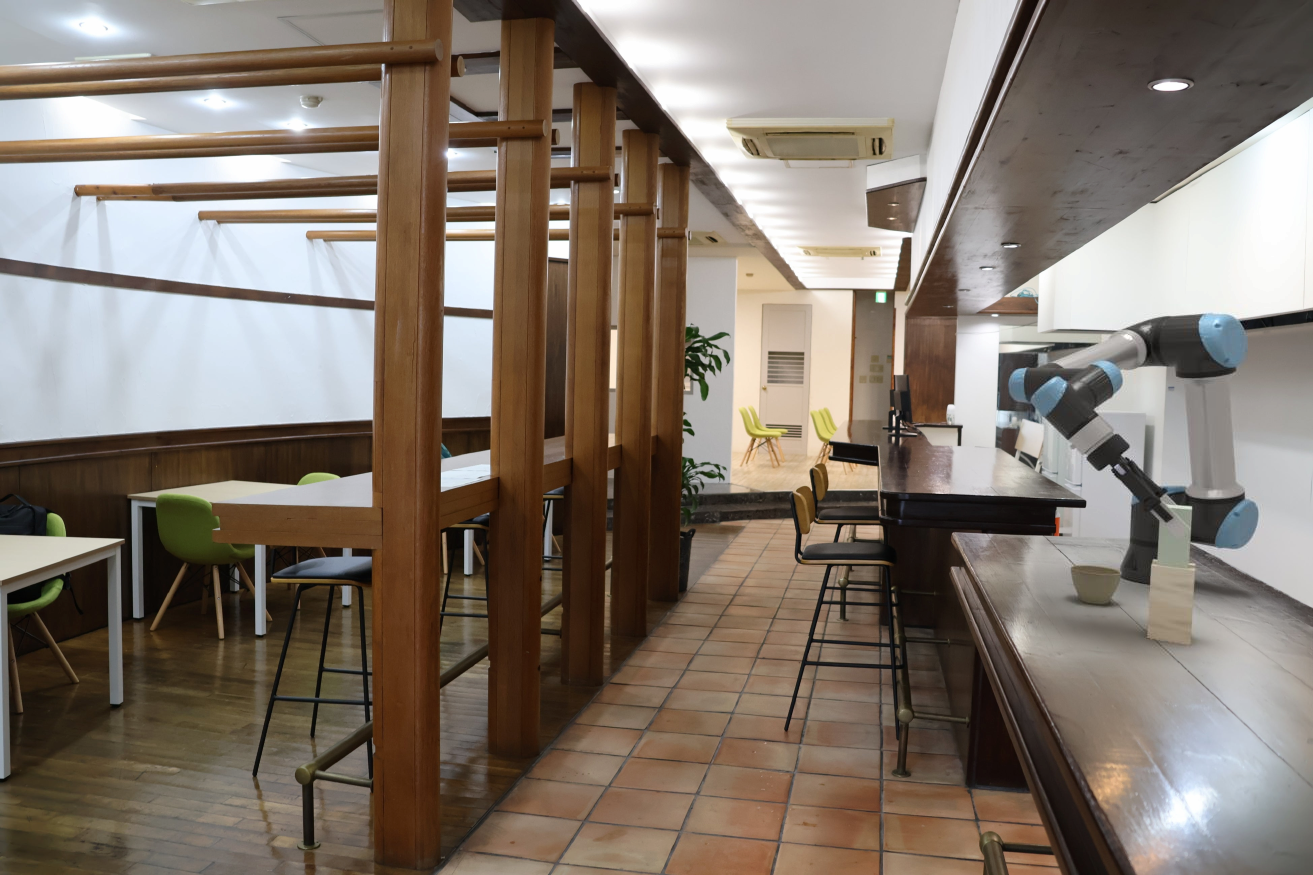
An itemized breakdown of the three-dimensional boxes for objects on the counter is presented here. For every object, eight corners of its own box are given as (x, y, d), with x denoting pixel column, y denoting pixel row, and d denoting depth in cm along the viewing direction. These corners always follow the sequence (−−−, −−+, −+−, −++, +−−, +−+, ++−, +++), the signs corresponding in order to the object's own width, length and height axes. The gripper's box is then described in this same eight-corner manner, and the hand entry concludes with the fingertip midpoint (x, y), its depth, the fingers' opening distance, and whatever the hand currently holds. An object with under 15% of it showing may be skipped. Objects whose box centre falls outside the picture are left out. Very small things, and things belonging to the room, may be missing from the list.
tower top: (1151, 594, 172) (1153, 559, 171) (1193, 600, 168) (1195, 563, 168) (1149, 602, 166) (1151, 565, 165) (1192, 607, 162) (1194, 570, 162)
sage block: (1158, 560, 170) (1161, 504, 169) (1188, 564, 167) (1192, 506, 167) (1157, 565, 166) (1160, 506, 165) (1188, 568, 163) (1191, 509, 162)
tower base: (1149, 630, 172) (1151, 594, 172) (1191, 636, 169) (1193, 600, 168) (1147, 638, 166) (1149, 602, 166) (1190, 645, 163) (1192, 607, 162)
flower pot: (1126, 608, 188) (1127, 575, 188) (1075, 605, 190) (1077, 572, 190) (1111, 597, 198) (1113, 566, 197) (1064, 594, 200) (1065, 563, 199)
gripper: (1090, 453, 184) (1169, 532, 177) (1076, 461, 163) (1165, 551, 156) (1120, 428, 181) (1202, 508, 174) (1110, 434, 160) (1202, 525, 153)
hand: (1185, 529), depth 165 cm, fingers open, 13 cm apart
